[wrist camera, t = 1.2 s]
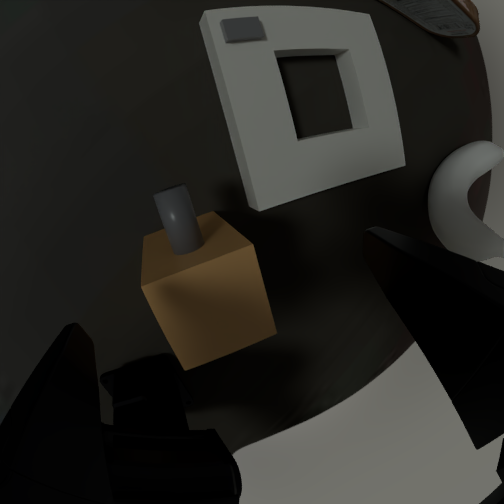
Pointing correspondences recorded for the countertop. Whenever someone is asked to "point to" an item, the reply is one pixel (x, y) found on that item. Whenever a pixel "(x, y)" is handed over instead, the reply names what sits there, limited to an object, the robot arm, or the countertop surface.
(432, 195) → the grey curved piece
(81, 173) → the countertop surface
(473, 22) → the tin
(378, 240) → the robot arm
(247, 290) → the plug
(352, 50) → the socket plate
